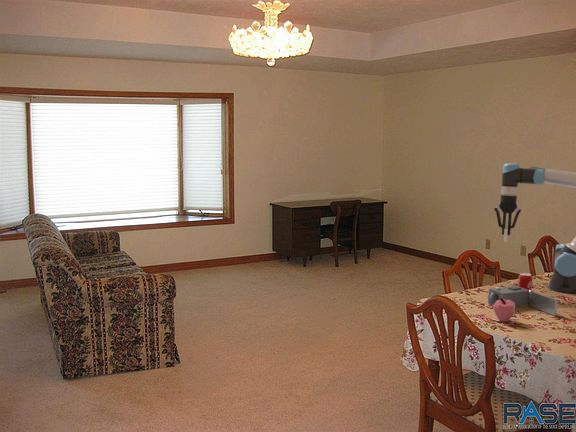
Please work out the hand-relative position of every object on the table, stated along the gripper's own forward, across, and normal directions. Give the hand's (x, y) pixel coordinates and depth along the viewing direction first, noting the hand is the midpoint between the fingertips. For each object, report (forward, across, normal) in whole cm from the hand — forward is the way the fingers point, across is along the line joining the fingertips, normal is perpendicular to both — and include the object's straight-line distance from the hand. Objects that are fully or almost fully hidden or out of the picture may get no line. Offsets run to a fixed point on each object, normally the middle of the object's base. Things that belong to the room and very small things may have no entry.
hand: (505, 241), depth 310 cm
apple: (+25, +8, -55) cm, 61 cm away
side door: (+24, +21, -31) cm, 44 cm away
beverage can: (+25, +12, -14) cm, 31 cm away
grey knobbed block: (+24, +6, -29) cm, 38 cm away
